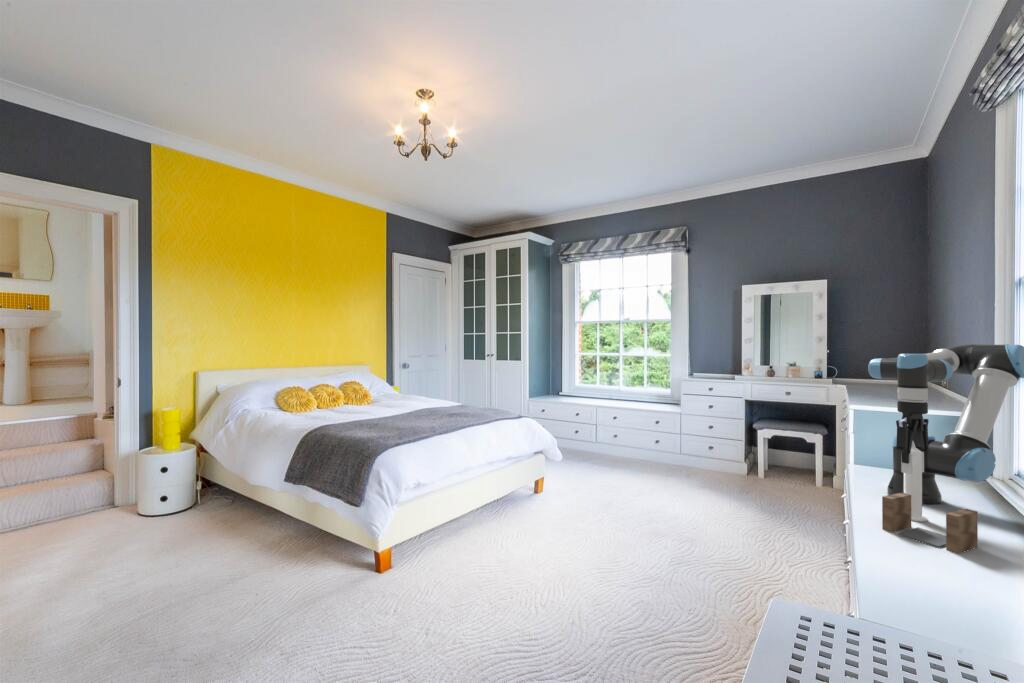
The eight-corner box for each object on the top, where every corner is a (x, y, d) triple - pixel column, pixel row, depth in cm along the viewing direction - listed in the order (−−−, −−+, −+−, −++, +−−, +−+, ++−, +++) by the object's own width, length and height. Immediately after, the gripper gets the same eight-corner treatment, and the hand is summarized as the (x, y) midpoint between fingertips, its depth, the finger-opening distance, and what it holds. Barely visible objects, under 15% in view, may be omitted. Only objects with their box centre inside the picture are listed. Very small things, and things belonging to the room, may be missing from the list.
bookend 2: (966, 544, 130) (965, 508, 131) (977, 547, 128) (977, 511, 128) (946, 550, 127) (946, 513, 127) (958, 553, 124) (957, 516, 124)
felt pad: (918, 528, 141) (918, 527, 141) (960, 541, 132) (960, 539, 132) (896, 534, 137) (896, 532, 137) (938, 547, 128) (938, 546, 128)
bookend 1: (901, 524, 145) (901, 492, 145) (911, 527, 142) (911, 495, 143) (882, 529, 141) (882, 496, 141) (891, 532, 138) (891, 498, 139)
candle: (933, 522, 146) (932, 443, 147) (907, 521, 148) (906, 442, 148) (918, 514, 153) (917, 439, 154) (893, 513, 155) (893, 438, 155)
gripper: (915, 398, 158) (915, 466, 158) (881, 400, 151) (882, 472, 150) (942, 400, 151) (943, 472, 151) (909, 403, 144) (909, 478, 144)
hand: (912, 472), depth 151 cm, fingers open, 6 cm apart
